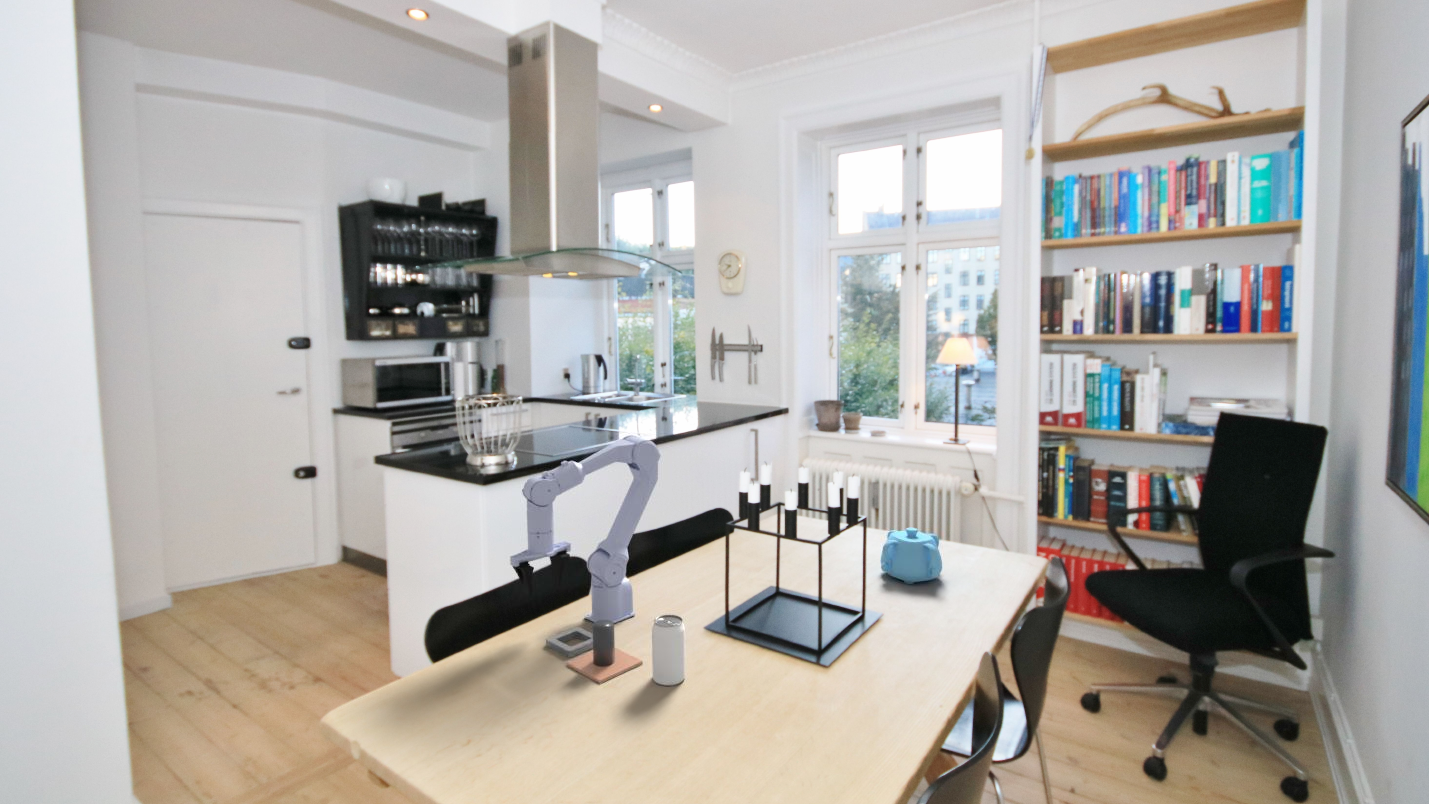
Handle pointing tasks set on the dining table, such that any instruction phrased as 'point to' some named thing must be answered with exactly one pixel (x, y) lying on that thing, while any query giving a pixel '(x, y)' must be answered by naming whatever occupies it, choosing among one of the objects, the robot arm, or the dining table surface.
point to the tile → (605, 673)
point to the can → (668, 650)
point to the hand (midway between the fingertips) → (542, 588)
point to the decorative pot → (911, 556)
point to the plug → (603, 643)
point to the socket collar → (558, 640)
